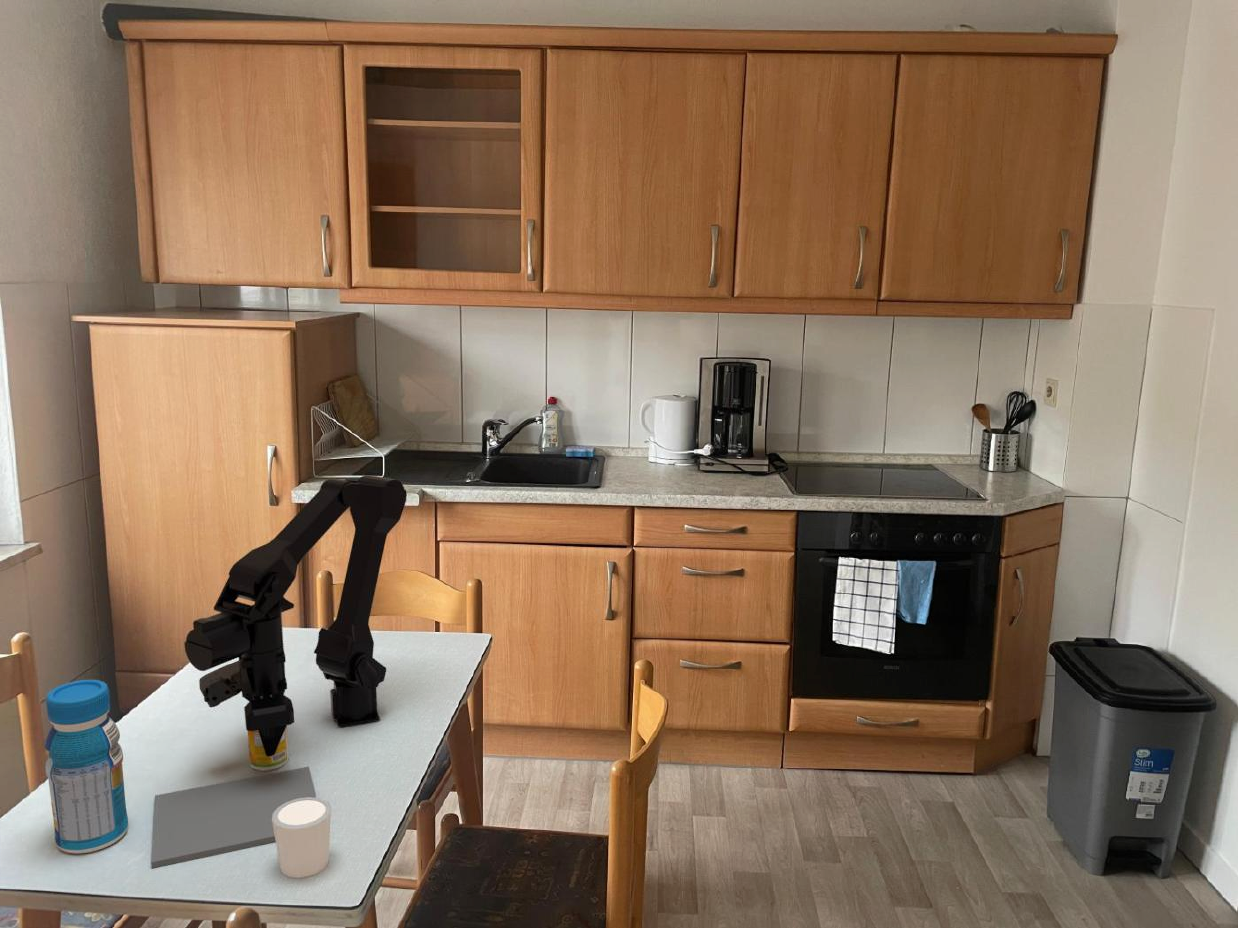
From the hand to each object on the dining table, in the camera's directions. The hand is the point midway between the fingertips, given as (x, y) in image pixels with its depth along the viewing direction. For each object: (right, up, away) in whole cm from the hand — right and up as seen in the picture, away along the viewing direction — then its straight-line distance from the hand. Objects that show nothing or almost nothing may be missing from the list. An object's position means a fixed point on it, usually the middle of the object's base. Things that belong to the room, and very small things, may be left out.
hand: (268, 746), depth 140 cm
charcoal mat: (+1, -5, -13) cm, 14 cm away
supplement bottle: (0, -3, +1) cm, 3 cm away
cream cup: (+13, -8, -23) cm, 27 cm away
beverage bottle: (-16, -6, -18) cm, 25 cm away
